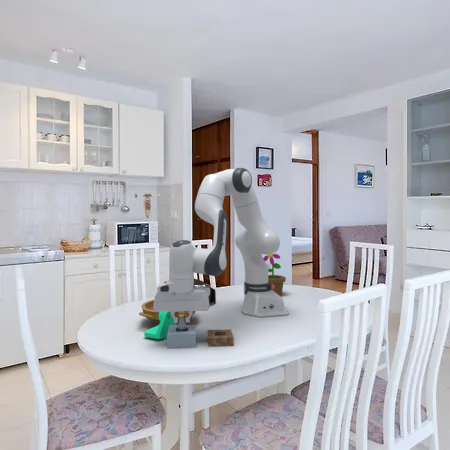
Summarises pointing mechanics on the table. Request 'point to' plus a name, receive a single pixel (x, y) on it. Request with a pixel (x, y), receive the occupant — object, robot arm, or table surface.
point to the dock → (181, 337)
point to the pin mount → (220, 338)
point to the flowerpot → (275, 279)
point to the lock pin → (181, 321)
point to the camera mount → (161, 326)
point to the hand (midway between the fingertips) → (181, 322)
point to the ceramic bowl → (154, 316)
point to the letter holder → (212, 292)
